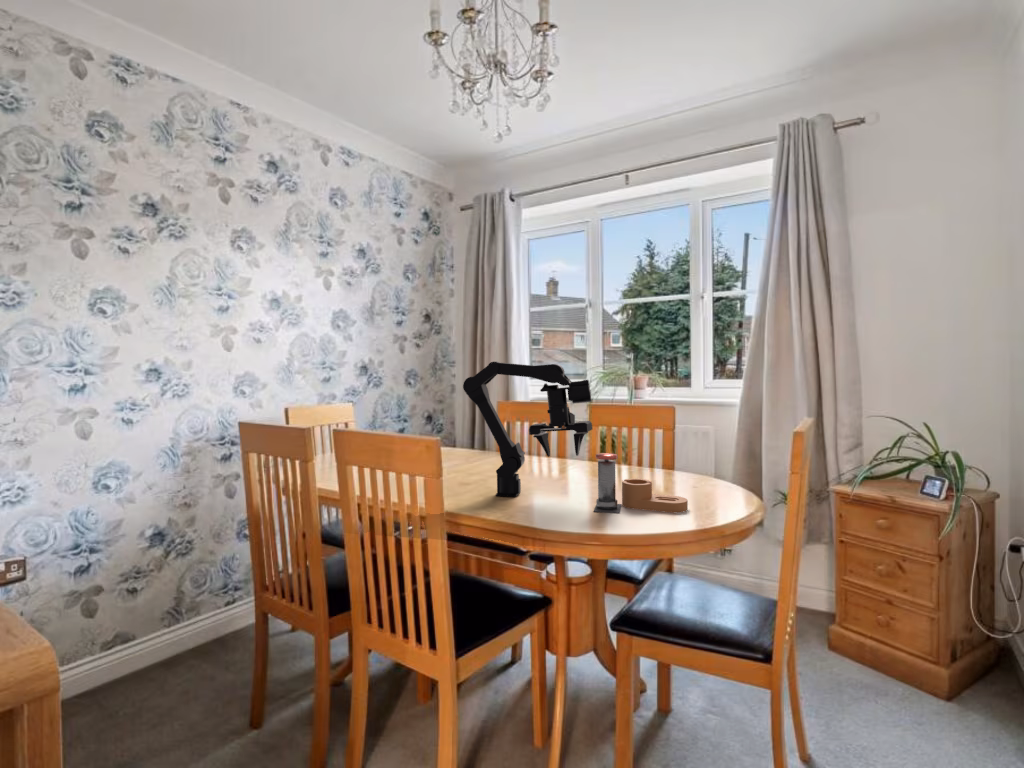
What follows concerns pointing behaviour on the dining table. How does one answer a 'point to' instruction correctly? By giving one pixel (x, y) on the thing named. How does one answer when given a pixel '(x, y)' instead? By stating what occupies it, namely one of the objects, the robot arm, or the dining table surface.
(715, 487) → the dining table surface
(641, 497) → the bracket
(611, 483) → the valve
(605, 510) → the dark grey rectangular plate
